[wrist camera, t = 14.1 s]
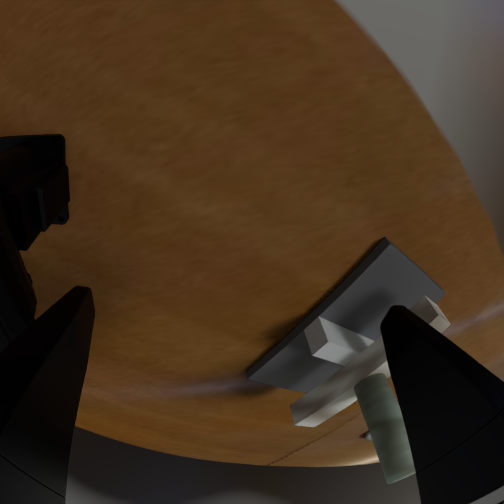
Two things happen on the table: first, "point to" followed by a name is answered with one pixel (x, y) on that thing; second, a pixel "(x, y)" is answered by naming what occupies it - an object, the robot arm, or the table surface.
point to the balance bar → (370, 399)
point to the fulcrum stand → (345, 321)
